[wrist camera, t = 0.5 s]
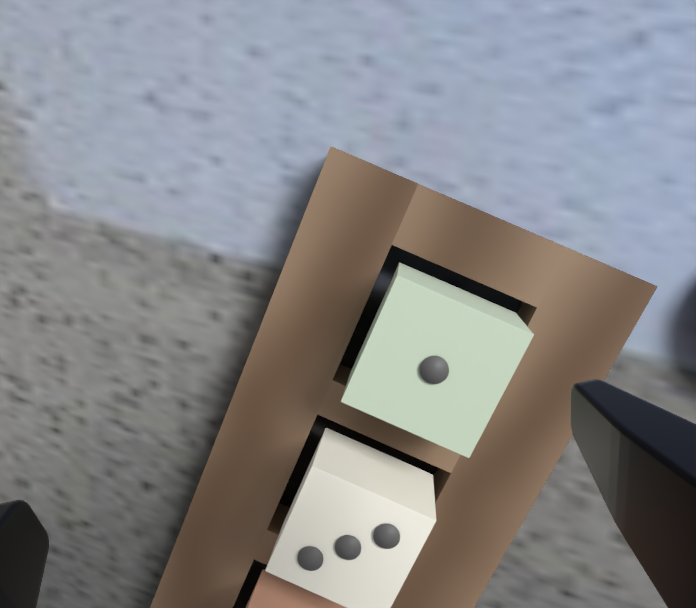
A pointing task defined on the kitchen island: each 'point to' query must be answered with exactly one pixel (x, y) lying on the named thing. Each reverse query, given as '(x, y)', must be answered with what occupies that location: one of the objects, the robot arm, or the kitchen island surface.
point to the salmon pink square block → (285, 595)
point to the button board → (325, 400)
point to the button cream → (354, 524)
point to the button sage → (436, 360)
